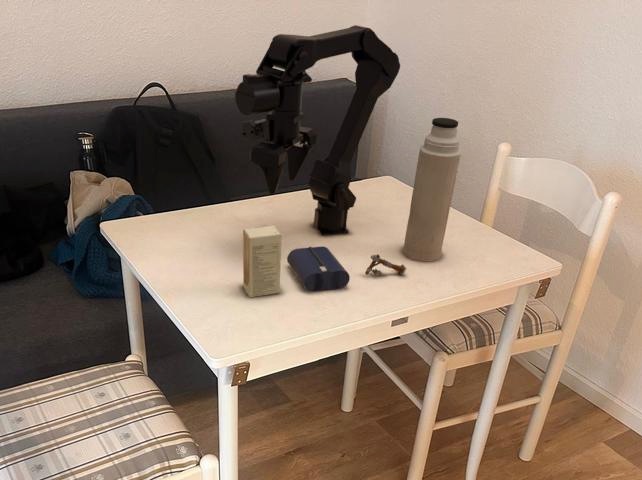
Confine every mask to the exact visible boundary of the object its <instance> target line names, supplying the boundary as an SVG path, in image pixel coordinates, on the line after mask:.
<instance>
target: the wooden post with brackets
mask: <svg viewBox="0 0 642 480" xmlns="http://www.w3.org/2000/svg"><path fill="white" fill-rule="evenodd" d="M370 259H371V260H372V261H371V262H370V263H369V266H368V267H367V268H366V270H365V271H364V273H365V275H369V274H370V273H371V272H372V273H373V275H374V276H378V277H380V276H383V272H382V271H381V270H380V269H379V270H378V269H377V268H375V269H373V268H374V267H376V266H378V265H382V266H384V267H387V268H389V269H393V270H394V271H396V272H397V273H398V274H399V276H403V275H404V273H405V272H406V270H407V268H408V267H406V266H405V264H401V265H400V264H399V265H398V264H395V263H392V262H391V261H388V260H386V259H383V258H381V255H380V254H378V253H377V254H376V255H375V254H372V255H370Z"/></svg>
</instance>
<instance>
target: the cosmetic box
mask: <svg viewBox="0 0 642 480" xmlns="http://www.w3.org/2000/svg"><path fill="white" fill-rule="evenodd" d="M242 233H243V234H242V235H243V237H242V242H243V243H242V246H243V247H242V254H243V255H242V256H243V257H242V259H243V262H242V265H243V266H242V267H243V268H242V269H243V275H242V276H243V277H242V278H243V285H242V286H243V289H244V291H245V293H246V294H247V296H248V298H253V297H261V296H267V295H274V294H279V293H280V292H281V264H282V263H281V261H282V259H281V258H282V257H281V256H282V233H281V231H279V229H278V228H277V227H276V226H275V224H273V225H263V226H255V227H247V228H243V231H242Z"/></svg>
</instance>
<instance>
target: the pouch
mask: <svg viewBox="0 0 642 480" xmlns="http://www.w3.org/2000/svg"><path fill="white" fill-rule="evenodd" d="M286 260H287V263H288V265H289V266H290V268H291V269H292V271H293V272H294V274H295V275H296V276H297V278H298V280H299V281H300V283H301V284H302V285H303V287H304V289H305V290H306V291H308V292H309V293H310V292H311V293H315V292H324V291H333V290H334V291H335V290H342V289H344V288H345V287H347V285H348V284H349V283H350V277H351V276H350V274H349V272H348V271H347V269H345V268H344V266H343V265H342V264H341V262H340V261H339V260H338V258H337V257H336V256H335V255H334V254H333V253H332V251H331V250H330V249H329V248H328V247H326V246H323V245H322V246H313V247H312V246H308V247H300V248H299V247H298V248H294V249H292V250H290V251H289V253H288V255H287V258H286Z"/></svg>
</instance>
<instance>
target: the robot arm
mask: <svg viewBox="0 0 642 480" xmlns="http://www.w3.org/2000/svg"><path fill="white" fill-rule="evenodd" d="M350 53H351V57H352V59H353V61H354V62H355V63H356V68H355V72H354V80H355V91H354V93H353V96H352V98H351V100H350V103H349V105H348V107H347V109H346V112H345V115H344V118H343V119H342V122H341V124H340V127H339V129H338V131H337V134H336V136H335V139H334V141H333V144H332V146H331V149H330V151H329V153H328V155H327V156H325V157H324V158H323V159H322V160H321V159H319V158H317V159H316V160H315V162H314V164H313V167H312V170H311V172H310V174H309V175H308V178H309V180H308V187H309V190H310V192H311V197H312V200H313V201H317V205H316V208H315V209H314V216H313V222H312V225H313V227H314V228H315V229H316V230H317V231H318V232H319V234H320V235H321V236H330V235H342V234H349V229H348V228H347V221H348V212H349V211H350V209H352V208H353V207H354V206H355V203H356V201H357V197H356V195H355V194H354V193H353V191H352V190H351V189H350V188H349V187H350V184H351V181H352V172H351V171H352V170H351V163H352V160H353V157H354V155H355V154H356V150H357V148H358V146H359V144H360V141H361V140H362V137H363V134H364V132H365V129H366V127H367V125H368V123H369V121H370V118H371V115H372V113H373V111H374V109H375V106H376V104H377V101H378V99H379V98H380V97H381V96H383V95H384V94H385V93H386V92H388V90H389V89H390V88H391V87H392V85H393V83H394V82H395V80H396V77H397V76H398V74H399V73H400V69H401V63H400V58H399V55H398V54H397V53H396V52H394V51H393V50H392V48H391V47H390V46H388V45H387V44H386V43H385V42H384V41H383V40H381V39H380V38H379V37H378V35H377V33H376V32H375V31H374V30H373V29H372V28H370V27H367V26H362V25H357V24H355V25H352V26H350V27H346V28H341V29H337V30H333V31H328V32H323V33H318V34H314V35H299V34H287V33H286V34H285V33H279V34H276V35H274V36H273V37H272V39H271V42H270V43H269V46H268V49H267V50H266V52H265V54H264V56H263V58H262V59H261V62H260V63H259V64H258V67H257V68H256V70H255V74H250V73H246V74H243V75H242V81H241V82H240V83H239V84H238V85H237V87H236V91H235V93H234V100H235V104H236V107H237V109H238V110H239V112H240V113H241V114H242V115H244V116H251V115H256V114H263V113H267V114H265V118H263V119H259V120H254V119H250V120H245V121H243V122H242V124H241V127H240V129H241V131H240V136H241V137H243V139H245V140H246V143H252V142H253V141H256V140H259V139H263V141H262V142H260V143H257V144H256V145H254V146H253V147H252V148H251V149H250V150H249V161H250V162H253V164H254V165H256V166H259V167H260V168H261V170H262V173H263V175H264V178H265V182H266V186H267V190H268V193H269V194H270V195H275V194H276V192H277V190H278V188H279V185H280V182H281V179H282V176H283V174H284V171H285V169H286V165H287V168H288V180H289V181H291V182H294V181H296V179H297V176H298V174H299V173H300V171H301V169H302V167H303V165H304V164H305V161H306V160H307V158H308V156H309V155H310V152H311V150H312V149H313V148H314V145H316V143H317V135H318V134H317V132H316V131H315V130H314V128H312V127H306V126H302V125H301V121H303V120H305V114H306V113H305V112H302V102H303V86H304V84H306V83H311V82H312V81H313V78H312V76H310V75H309V74H308V73H307V70H309V69H311V68H313V67H314V66H315V64H316V63H317V62H318V61H319V62H320V61H322V60H324V59H329V58H333V57H337V56H341V55H346V54H350ZM286 159H287V162H286Z"/></svg>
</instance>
